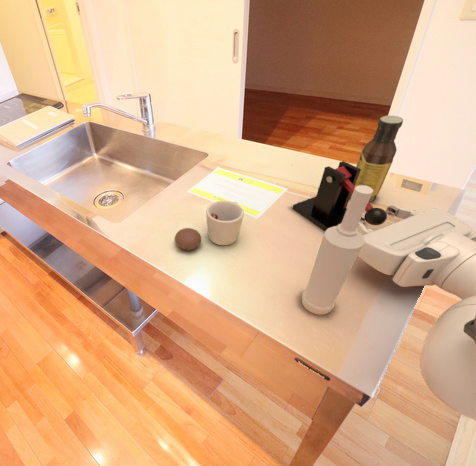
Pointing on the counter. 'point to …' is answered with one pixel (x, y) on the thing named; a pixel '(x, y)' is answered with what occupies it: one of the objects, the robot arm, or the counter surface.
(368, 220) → the lever
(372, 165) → the sauce bottle
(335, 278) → the bottle
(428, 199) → the counter surface
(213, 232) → the cup
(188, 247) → the egg
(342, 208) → the press
